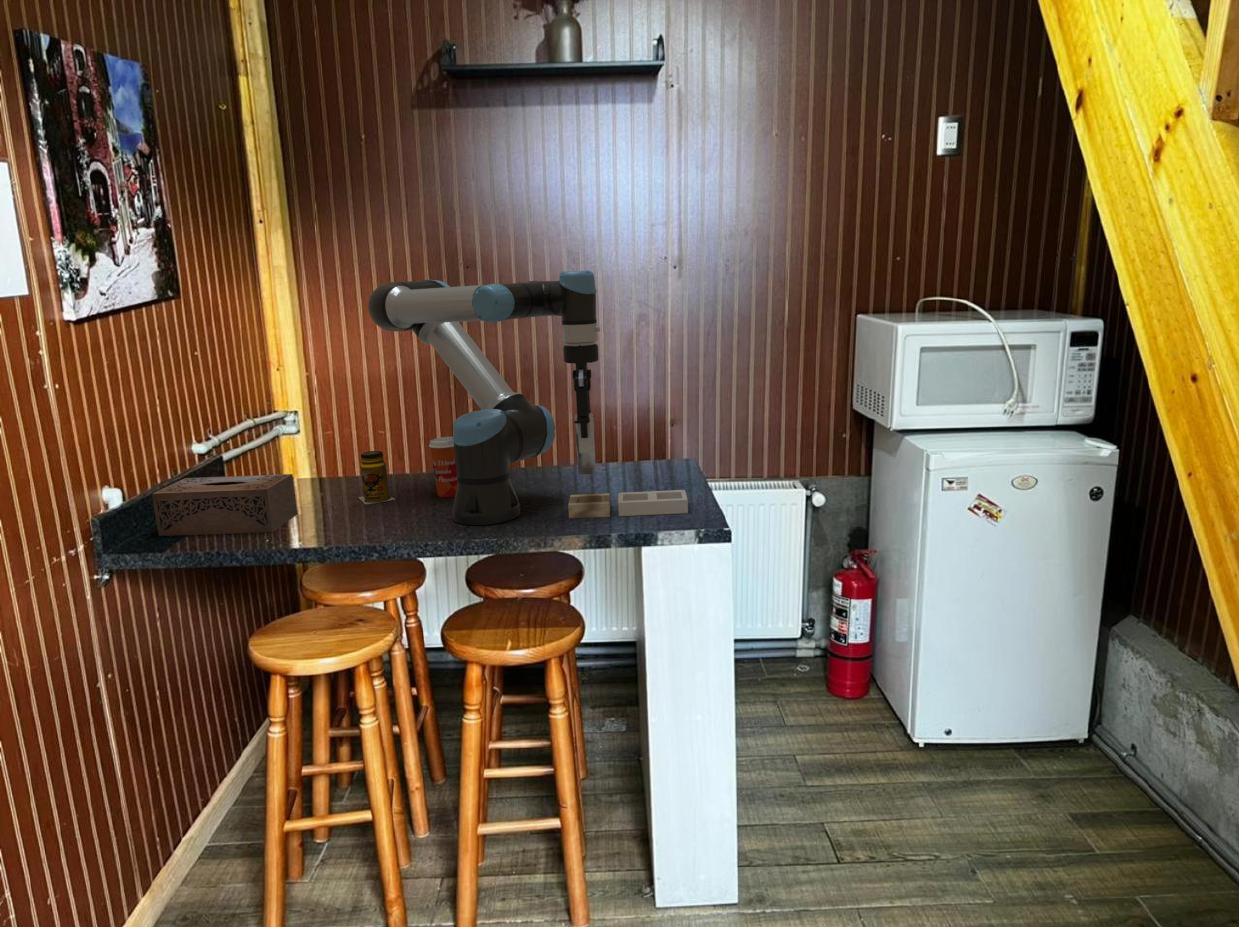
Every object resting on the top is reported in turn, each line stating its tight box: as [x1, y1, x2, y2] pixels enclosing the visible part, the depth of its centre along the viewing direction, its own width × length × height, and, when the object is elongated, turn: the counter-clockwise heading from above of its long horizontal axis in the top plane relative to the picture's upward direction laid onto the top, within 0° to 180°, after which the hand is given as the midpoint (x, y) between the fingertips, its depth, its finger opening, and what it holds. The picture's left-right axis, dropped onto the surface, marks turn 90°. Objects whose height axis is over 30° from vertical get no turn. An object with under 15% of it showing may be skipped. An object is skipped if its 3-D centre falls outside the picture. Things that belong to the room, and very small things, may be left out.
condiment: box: [358, 450, 396, 505], centre depth 223 cm, size 7×8×12 cm
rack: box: [617, 489, 689, 517], centre depth 203 cm, size 15×9×3 cm, turn 90°
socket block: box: [567, 492, 611, 519], centre depth 203 cm, size 9×9×3 cm
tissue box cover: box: [151, 473, 299, 537], centre depth 206 cm, size 26×14×10 cm, turn 88°
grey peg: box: [574, 412, 597, 475], centre depth 200 cm, size 4×4×13 cm
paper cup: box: [428, 436, 458, 498], centre depth 223 cm, size 8×8×14 cm
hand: (585, 449), depth 200 cm, fingers closed on grey peg, 4 cm apart
